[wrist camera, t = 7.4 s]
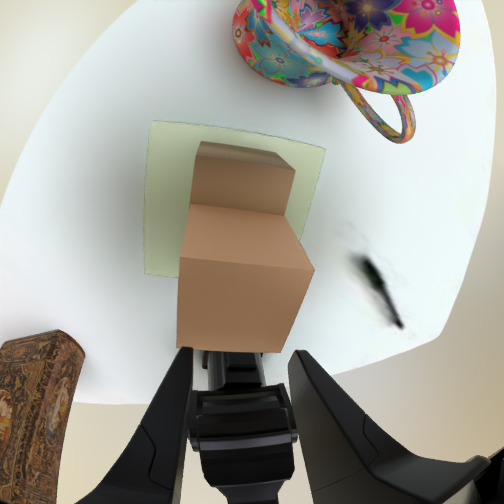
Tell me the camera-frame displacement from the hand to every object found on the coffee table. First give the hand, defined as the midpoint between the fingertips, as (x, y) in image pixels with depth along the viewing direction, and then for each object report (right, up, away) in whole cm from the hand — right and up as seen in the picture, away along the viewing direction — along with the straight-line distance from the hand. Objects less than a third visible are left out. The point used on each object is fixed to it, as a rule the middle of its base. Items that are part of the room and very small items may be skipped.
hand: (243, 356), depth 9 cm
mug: (+4, +17, +5) cm, 19 cm away
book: (-28, -9, +17) cm, 34 cm away
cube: (-1, +4, +6) cm, 7 cm away
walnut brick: (-2, +6, +10) cm, 12 cm away
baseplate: (-2, +7, +11) cm, 13 cm away
